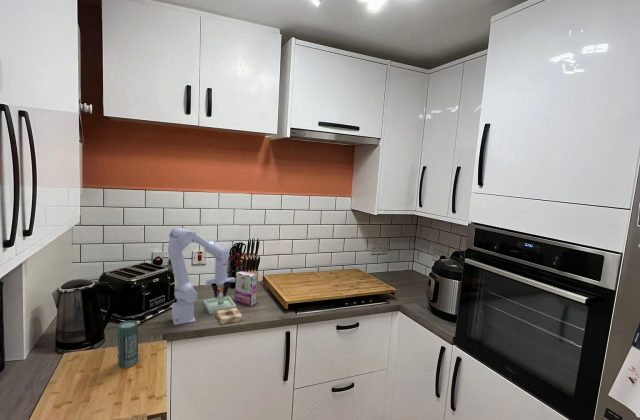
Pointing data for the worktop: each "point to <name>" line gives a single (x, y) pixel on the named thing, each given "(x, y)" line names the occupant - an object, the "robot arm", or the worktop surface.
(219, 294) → the metal pin
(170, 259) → the robot arm
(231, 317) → the pin holder block
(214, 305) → the tray
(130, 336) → the can
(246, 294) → the candy bar box
